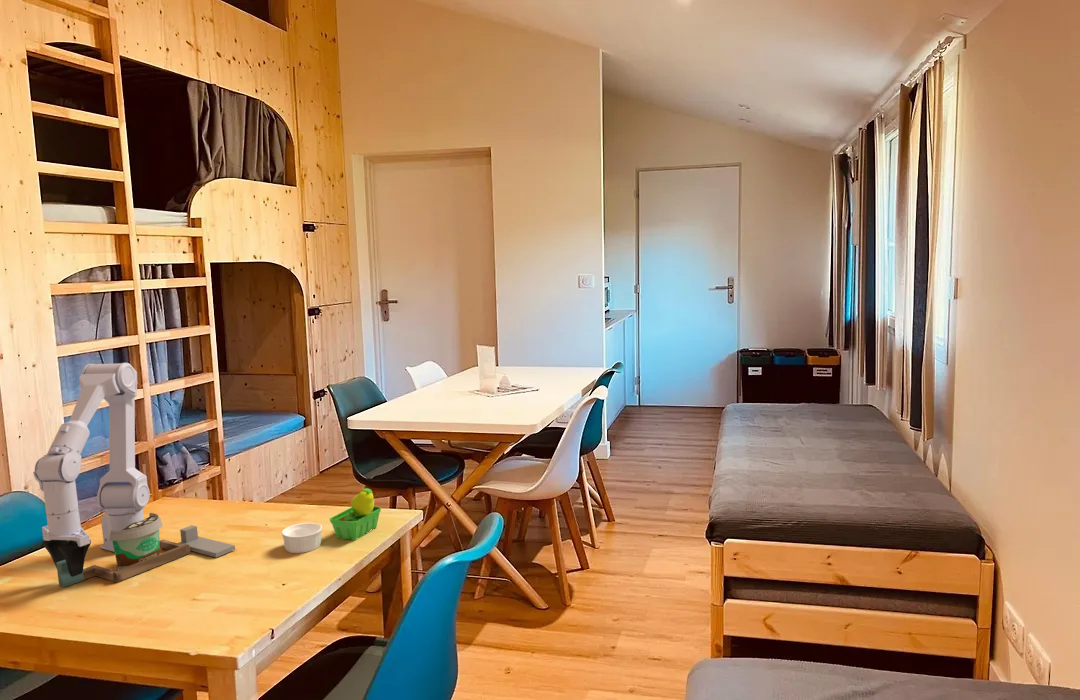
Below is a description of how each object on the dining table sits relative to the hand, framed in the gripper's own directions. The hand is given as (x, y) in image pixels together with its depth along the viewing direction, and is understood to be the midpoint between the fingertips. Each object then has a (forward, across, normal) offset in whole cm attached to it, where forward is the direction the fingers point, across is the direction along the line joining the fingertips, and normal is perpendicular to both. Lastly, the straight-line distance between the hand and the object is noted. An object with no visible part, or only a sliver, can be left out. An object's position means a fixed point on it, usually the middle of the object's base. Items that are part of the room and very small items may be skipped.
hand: (70, 572), depth 158 cm
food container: (+3, +6, +13) cm, 15 cm away
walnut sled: (+2, +4, +10) cm, 11 cm away
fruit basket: (+3, +36, +48) cm, 60 cm away
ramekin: (+3, +30, +36) cm, 47 cm away
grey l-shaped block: (+2, +10, +25) cm, 27 cm away
